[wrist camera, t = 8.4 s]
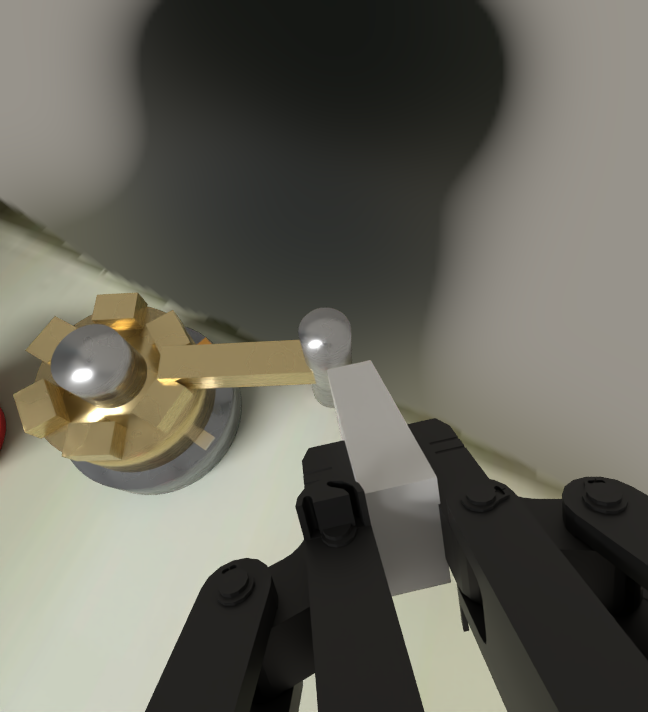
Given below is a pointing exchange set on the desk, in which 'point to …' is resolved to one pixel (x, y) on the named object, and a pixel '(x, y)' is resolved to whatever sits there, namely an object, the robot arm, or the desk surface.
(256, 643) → the robot arm
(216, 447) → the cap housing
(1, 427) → the canned food
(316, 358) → the geared crank handle
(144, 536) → the desk surface
